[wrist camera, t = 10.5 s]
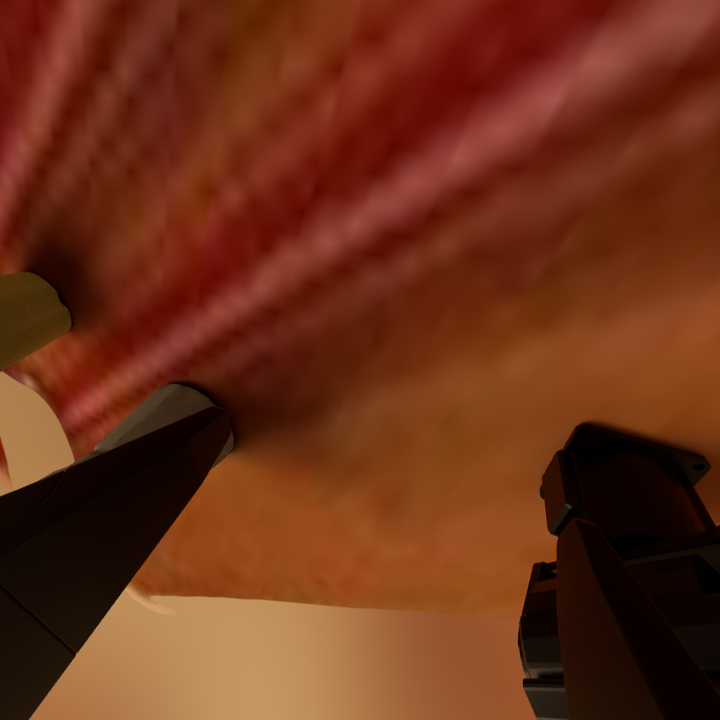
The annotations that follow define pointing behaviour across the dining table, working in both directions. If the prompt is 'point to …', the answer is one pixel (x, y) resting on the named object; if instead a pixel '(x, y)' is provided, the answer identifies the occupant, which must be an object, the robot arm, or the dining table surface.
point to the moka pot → (156, 419)
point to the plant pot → (28, 316)
